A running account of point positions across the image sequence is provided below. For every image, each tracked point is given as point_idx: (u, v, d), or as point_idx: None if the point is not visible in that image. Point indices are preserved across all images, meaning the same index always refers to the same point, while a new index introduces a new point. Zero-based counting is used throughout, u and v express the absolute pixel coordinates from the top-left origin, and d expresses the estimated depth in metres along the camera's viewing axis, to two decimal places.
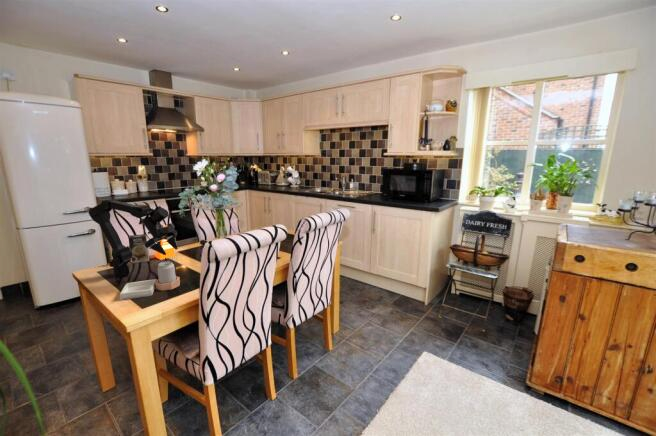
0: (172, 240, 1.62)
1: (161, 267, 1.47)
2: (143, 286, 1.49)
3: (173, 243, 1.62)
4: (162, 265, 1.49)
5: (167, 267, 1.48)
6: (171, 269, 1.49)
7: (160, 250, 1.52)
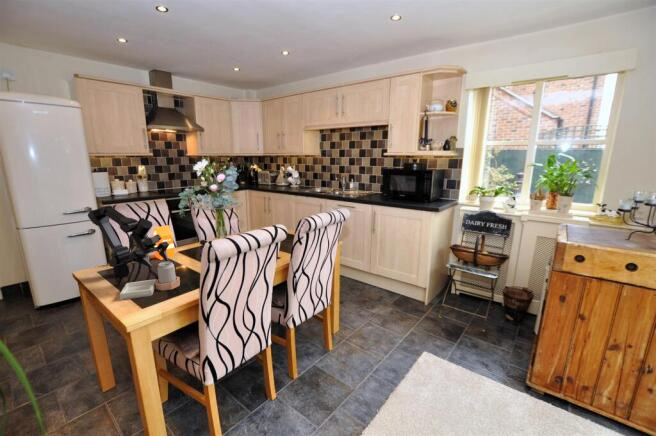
0: (163, 252, 1.57)
1: (161, 267, 1.47)
2: (143, 286, 1.49)
3: (164, 255, 1.56)
4: (162, 265, 1.49)
5: (167, 267, 1.48)
6: (171, 269, 1.49)
7: (145, 263, 1.47)
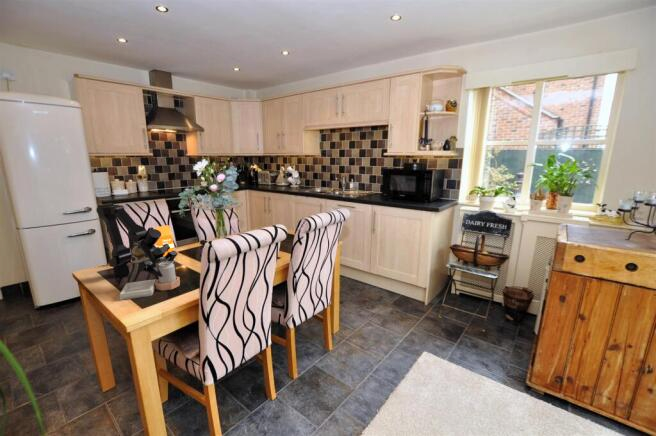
0: None
1: (161, 267, 1.47)
2: (143, 286, 1.49)
3: None
4: (162, 265, 1.49)
5: (167, 267, 1.48)
6: (171, 269, 1.49)
7: (156, 272, 1.47)
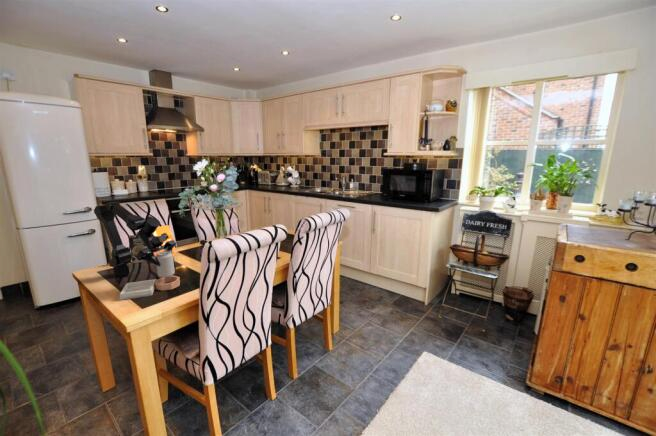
0: None
1: (159, 256, 1.46)
2: (143, 286, 1.49)
3: None
4: (160, 254, 1.48)
5: (165, 256, 1.47)
6: (169, 258, 1.48)
7: (154, 261, 1.45)
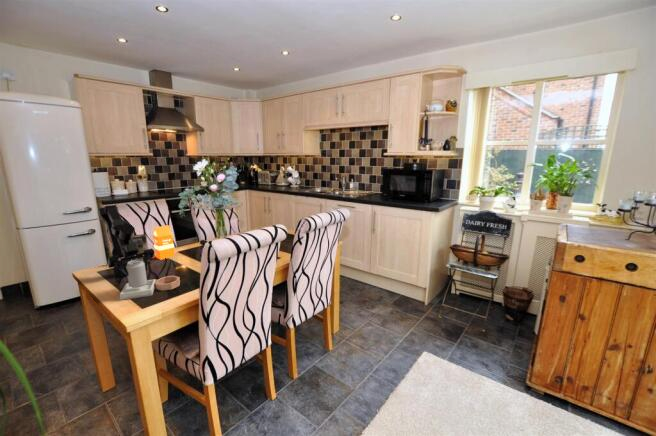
0: (144, 260, 1.47)
1: (128, 265, 1.40)
2: (143, 286, 1.49)
3: None
4: (130, 263, 1.41)
5: (133, 266, 1.40)
6: (138, 269, 1.41)
7: (123, 270, 1.40)
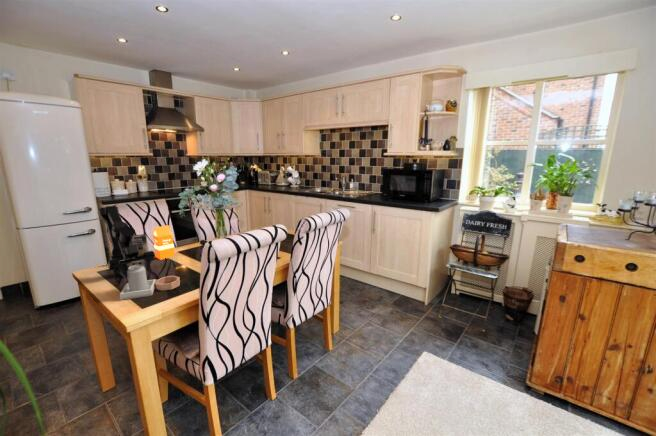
0: (146, 262, 1.48)
1: (129, 270, 1.41)
2: None
3: (146, 265, 1.47)
4: (131, 268, 1.42)
5: (134, 271, 1.40)
6: (138, 274, 1.41)
7: (121, 273, 1.40)
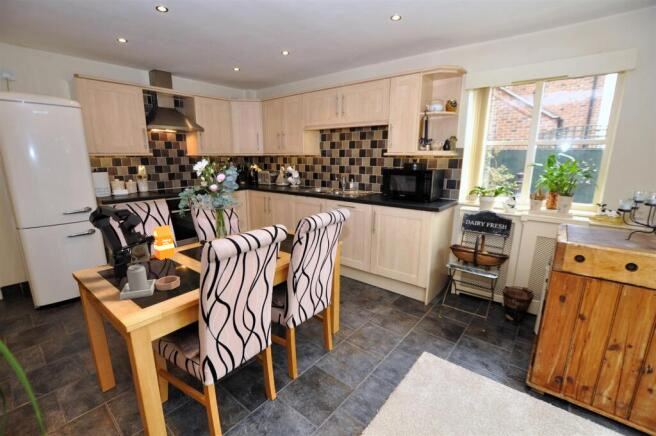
0: None
1: (129, 270, 1.41)
2: None
3: (148, 250, 1.55)
4: (131, 268, 1.42)
5: (134, 271, 1.40)
6: (138, 274, 1.41)
7: (125, 259, 1.50)
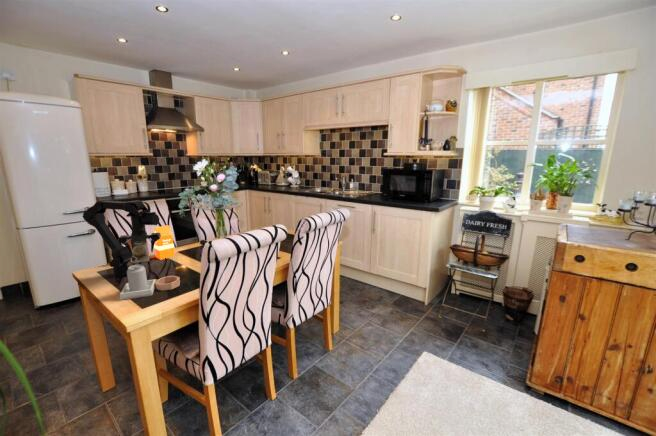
0: (151, 243, 1.62)
1: (129, 270, 1.41)
2: None
3: (151, 246, 1.62)
4: (131, 268, 1.42)
5: (134, 271, 1.40)
6: (138, 274, 1.41)
7: None
